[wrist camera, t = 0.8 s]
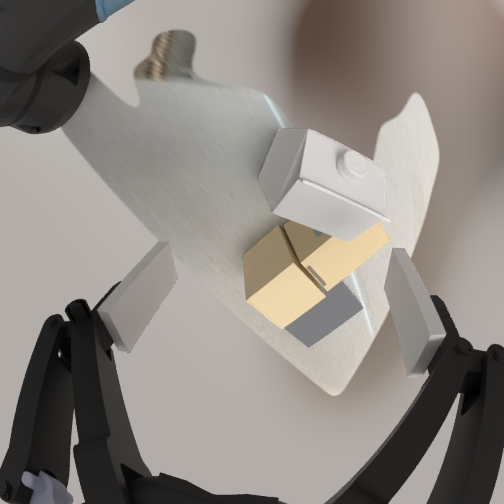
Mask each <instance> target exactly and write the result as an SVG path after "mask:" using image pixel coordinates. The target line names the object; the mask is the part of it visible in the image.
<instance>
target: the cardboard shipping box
mask: <svg viewBox="0 0 504 504" xmlns="http://www.w3.org/2000/svg"><path fill="white" fill-rule="evenodd" d="M283 226H284V228H285V231H286V233H287V235H288V237H289V239H290V241H291V243H292V246H293V248H294V250H295V252H296V254H297V256H298V259H299V261H300V263H301V264H302V265H303V266H304V267H305V268H306V269H307V270H308V271H309V272H310V273H311V275H312V276H313V277H314V278H315V279H316V280H317V281H318V282H319V283H320V284H321V285H322V286H323V287H324V288H325V289H326V291H327V292H328V291H329V290H330V289H331V288H333V287H334V286H335V285H336V284H338V283H339V282H340V281H341V280H343V279H344V278H345V277H346V276H348V275H349V274H350V273H351V272H353V271H354V270H355V269H356V268H357V267H359V266H360V265H361V264H362V263H363V262H365V261H366V260H367V259H368V258H369V257H370V256H372V255H373V254H374V253H375V252H376V251H377V250H379V249H380V248H381V247H382V246H383V245H384V244H385V243H387V242H388V241H389V240H390V238H389V237H388V235H387V233H386V232H385V230H384V228H383V227H382V225H381V224H380V222H377V223H376V224H375V225H373V226H372V227H370V228H369V229H367V230H366V231H365V232H363V233H362V234H360V235H359V236H357V237H356V238H354V239H353V240H352V241H350V242H346V241H343V240H341V239H338V238H336V237H333V236H331V235H328V234H325V233H323V232H320V231H318V230H315V229H313V228H310V227H307V226H305V225H302V224H299V223H297V222H294V221H291V220H289V221H287V222H286V223H285V224H284V225H283Z"/></svg>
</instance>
